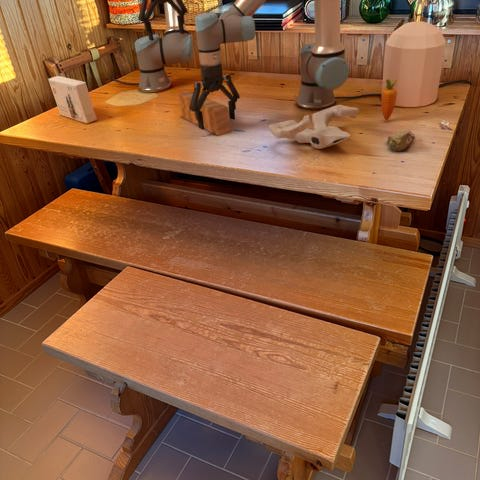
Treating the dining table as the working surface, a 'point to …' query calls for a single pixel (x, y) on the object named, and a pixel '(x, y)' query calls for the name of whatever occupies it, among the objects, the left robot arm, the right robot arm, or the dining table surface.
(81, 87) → the skincare box
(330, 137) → the cream branched piece
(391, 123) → the dining table surface
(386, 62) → the container
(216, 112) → the bar
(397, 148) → the rock
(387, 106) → the carrot
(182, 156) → the dining table surface
